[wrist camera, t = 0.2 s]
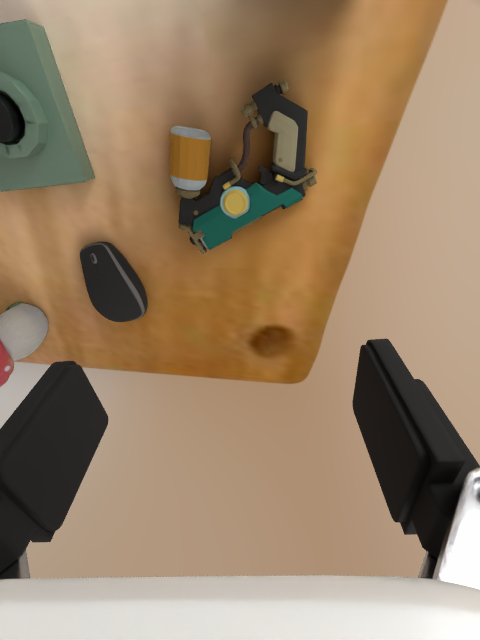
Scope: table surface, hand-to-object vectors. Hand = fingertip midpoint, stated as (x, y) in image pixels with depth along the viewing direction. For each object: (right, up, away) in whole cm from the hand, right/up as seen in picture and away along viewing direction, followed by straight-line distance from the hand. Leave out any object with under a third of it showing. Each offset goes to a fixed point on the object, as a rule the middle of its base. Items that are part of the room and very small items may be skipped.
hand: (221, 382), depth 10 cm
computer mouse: (-17, +8, +33) cm, 38 cm away
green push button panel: (-22, +24, +22) cm, 39 cm away
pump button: (-22, +22, +18) cm, 36 cm away
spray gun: (+1, +19, +25) cm, 31 cm away
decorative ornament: (-32, +2, +37) cm, 49 cm away
